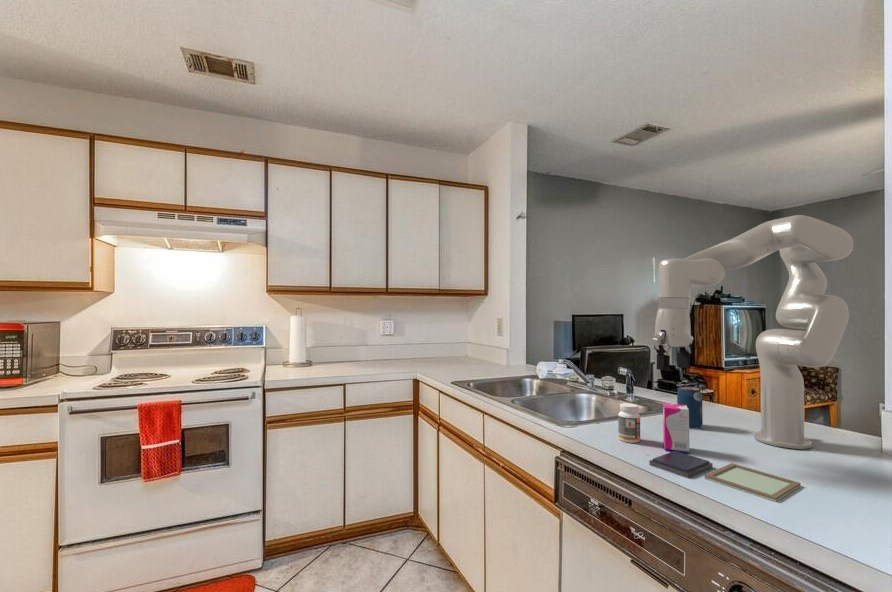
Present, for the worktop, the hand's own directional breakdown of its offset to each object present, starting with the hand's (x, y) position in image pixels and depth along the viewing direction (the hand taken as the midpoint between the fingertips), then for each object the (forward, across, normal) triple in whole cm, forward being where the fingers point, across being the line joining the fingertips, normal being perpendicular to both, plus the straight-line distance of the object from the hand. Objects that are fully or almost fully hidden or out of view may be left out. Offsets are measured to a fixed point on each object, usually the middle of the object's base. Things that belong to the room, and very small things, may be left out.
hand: (673, 368), depth 112 cm
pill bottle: (+22, +4, -10) cm, 24 cm away
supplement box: (+21, 0, +1) cm, 21 cm away
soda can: (+21, -25, -9) cm, 34 cm away
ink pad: (+21, +10, +8) cm, 25 cm away
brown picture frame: (+21, +6, +21) cm, 30 cm away
